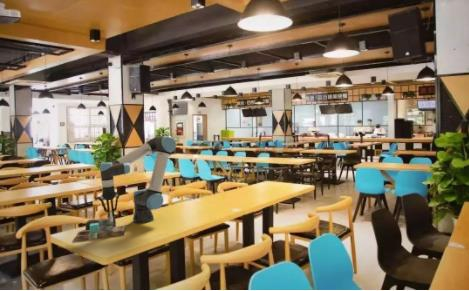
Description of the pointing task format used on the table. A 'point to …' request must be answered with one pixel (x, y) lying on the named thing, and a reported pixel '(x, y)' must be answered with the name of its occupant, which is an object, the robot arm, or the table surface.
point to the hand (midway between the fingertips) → (111, 221)
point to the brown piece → (101, 231)
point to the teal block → (94, 228)
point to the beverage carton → (96, 222)
